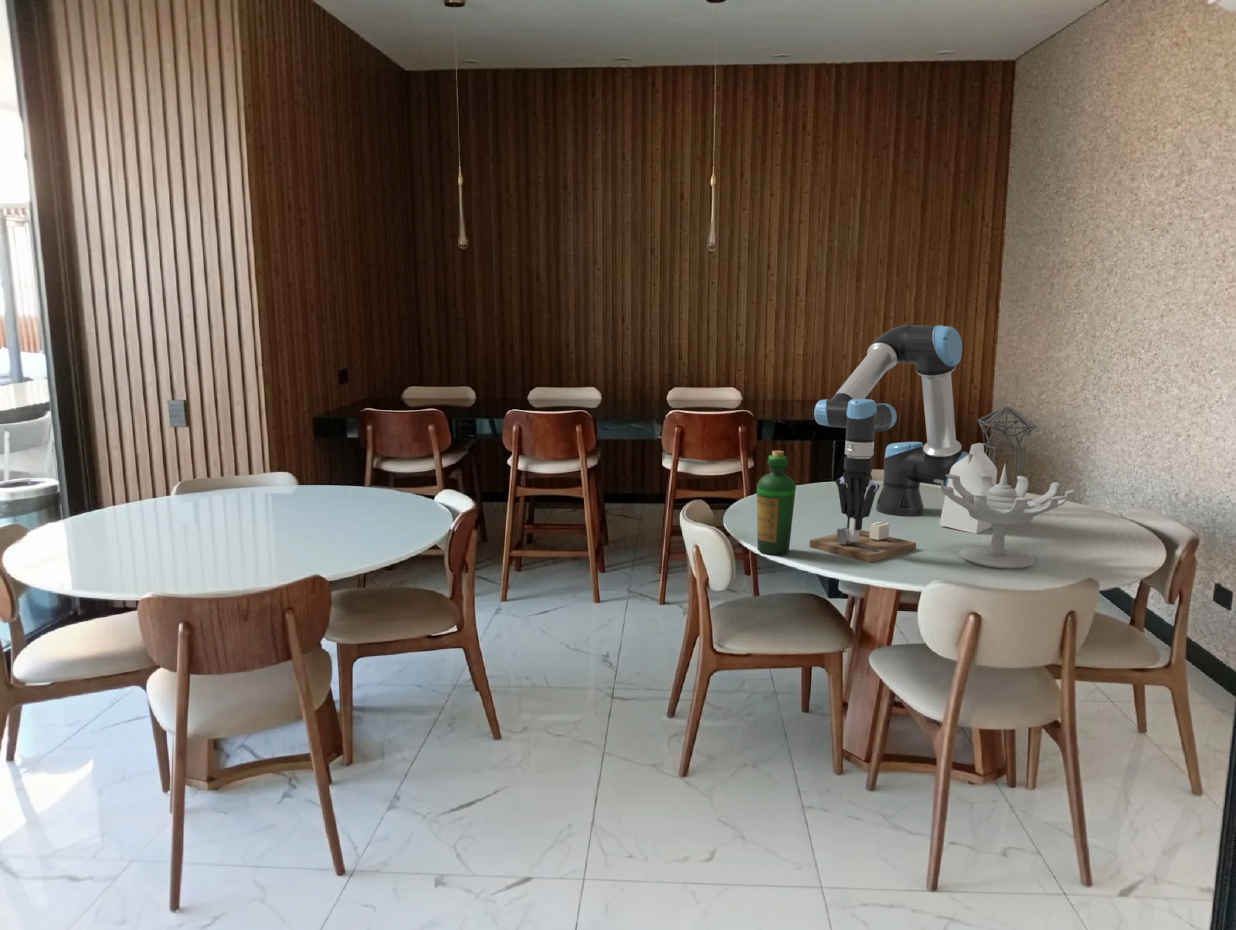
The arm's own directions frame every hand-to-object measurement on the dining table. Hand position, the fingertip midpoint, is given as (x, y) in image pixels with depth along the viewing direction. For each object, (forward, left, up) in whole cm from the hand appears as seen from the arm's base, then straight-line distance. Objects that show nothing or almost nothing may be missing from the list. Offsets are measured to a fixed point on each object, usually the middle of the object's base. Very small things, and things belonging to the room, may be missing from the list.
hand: (853, 540), depth 251 cm
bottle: (-14, -17, -4) cm, 22 cm away
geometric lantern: (-3, +87, -4) cm, 87 cm away
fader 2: (0, +12, -1) cm, 12 cm away
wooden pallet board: (-1, +6, -3) cm, 7 cm away
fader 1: (-2, 0, -1) cm, 2 cm away
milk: (+3, +54, -3) cm, 54 cm away
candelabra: (+29, +24, -4) cm, 38 cm away
